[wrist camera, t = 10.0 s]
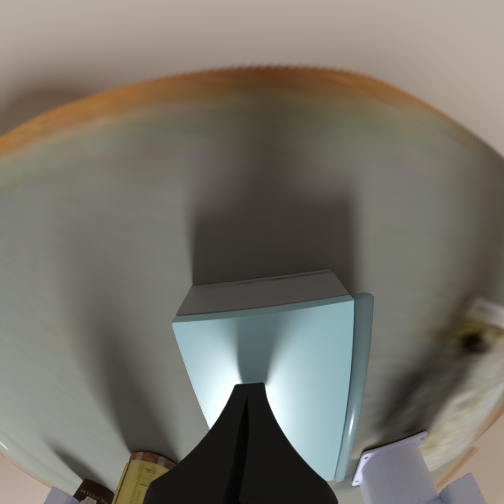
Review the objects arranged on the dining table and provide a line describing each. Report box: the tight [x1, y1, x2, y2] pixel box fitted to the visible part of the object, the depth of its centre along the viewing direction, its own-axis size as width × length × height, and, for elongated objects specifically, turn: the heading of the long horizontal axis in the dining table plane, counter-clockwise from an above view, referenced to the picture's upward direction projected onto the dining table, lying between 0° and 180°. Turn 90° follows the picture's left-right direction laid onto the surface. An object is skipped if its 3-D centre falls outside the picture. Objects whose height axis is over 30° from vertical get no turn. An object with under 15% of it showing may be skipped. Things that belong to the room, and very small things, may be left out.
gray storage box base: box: [176, 269, 349, 316], centre depth 16 cm, size 18×8×4 cm, turn 8°
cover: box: [172, 293, 374, 482], centre depth 14 cm, size 18×9×1 cm, turn 8°
